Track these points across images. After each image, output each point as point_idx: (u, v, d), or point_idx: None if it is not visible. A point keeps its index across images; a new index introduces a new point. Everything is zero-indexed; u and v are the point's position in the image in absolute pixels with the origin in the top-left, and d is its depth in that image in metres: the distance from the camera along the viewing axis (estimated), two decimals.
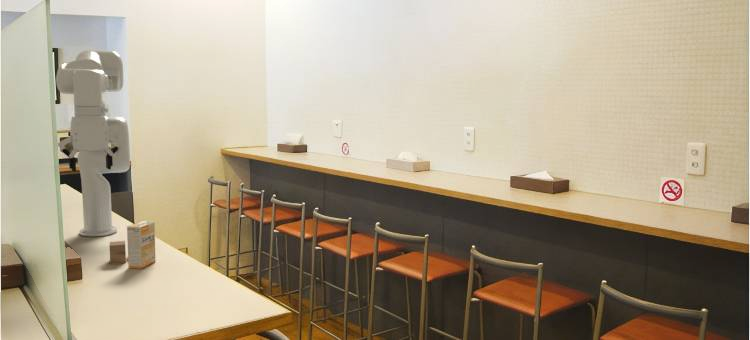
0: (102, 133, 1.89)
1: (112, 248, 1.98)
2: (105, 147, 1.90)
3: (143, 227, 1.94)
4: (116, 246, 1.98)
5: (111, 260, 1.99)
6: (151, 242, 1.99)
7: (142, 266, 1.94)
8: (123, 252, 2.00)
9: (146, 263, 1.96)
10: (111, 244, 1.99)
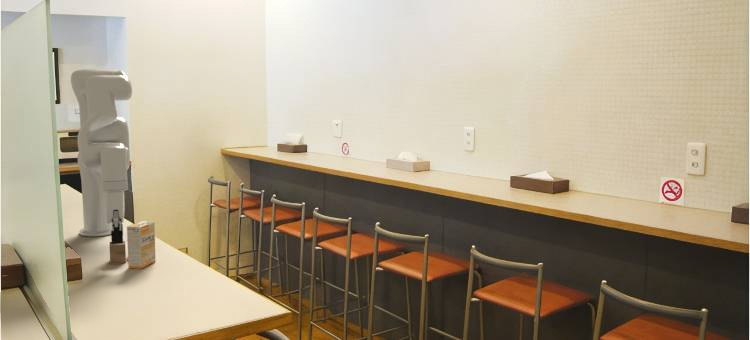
0: None
1: (112, 248, 1.98)
2: None
3: (143, 227, 1.94)
4: (116, 246, 1.98)
5: (111, 260, 1.99)
6: (151, 242, 1.99)
7: (142, 266, 1.94)
8: (123, 252, 2.00)
9: (146, 263, 1.96)
10: (111, 244, 1.99)
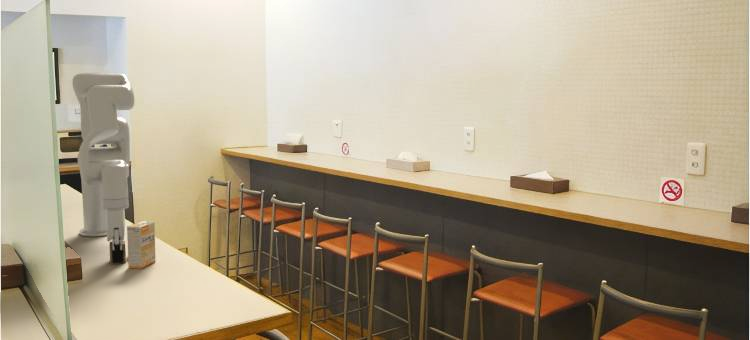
0: None
1: (112, 248, 1.98)
2: None
3: (143, 227, 1.94)
4: None
5: (111, 260, 1.99)
6: (151, 242, 1.99)
7: (142, 266, 1.94)
8: (123, 252, 2.00)
9: (146, 263, 1.96)
10: (111, 244, 1.99)
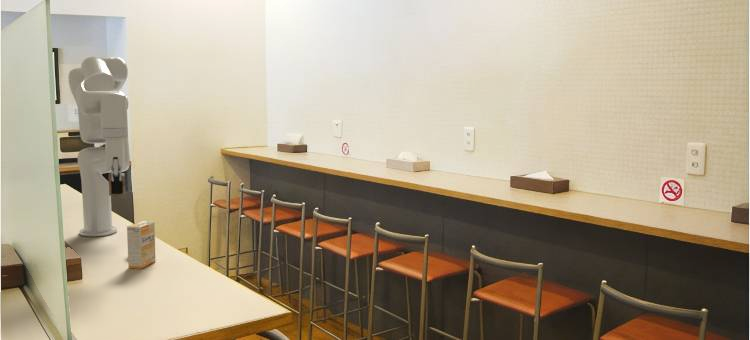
0: None
1: (111, 179, 1.95)
2: None
3: (143, 227, 1.94)
4: None
5: (110, 191, 1.95)
6: (151, 242, 1.99)
7: (142, 266, 1.94)
8: (122, 183, 1.96)
9: (146, 263, 1.96)
10: (110, 175, 1.95)
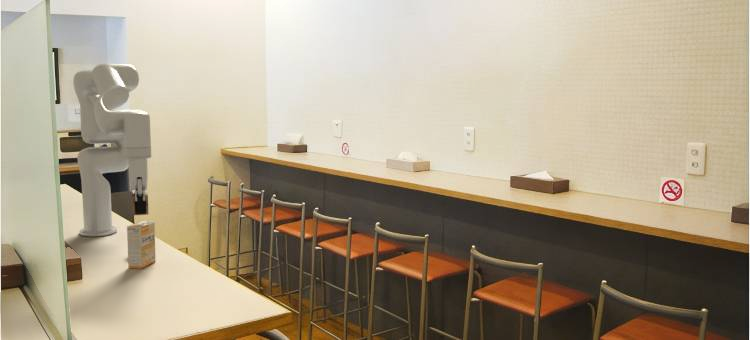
0: None
1: (134, 199, 1.93)
2: None
3: (143, 227, 1.94)
4: None
5: (133, 211, 1.93)
6: (151, 242, 1.99)
7: (142, 266, 1.94)
8: (146, 203, 1.94)
9: (146, 263, 1.96)
10: (133, 195, 1.93)
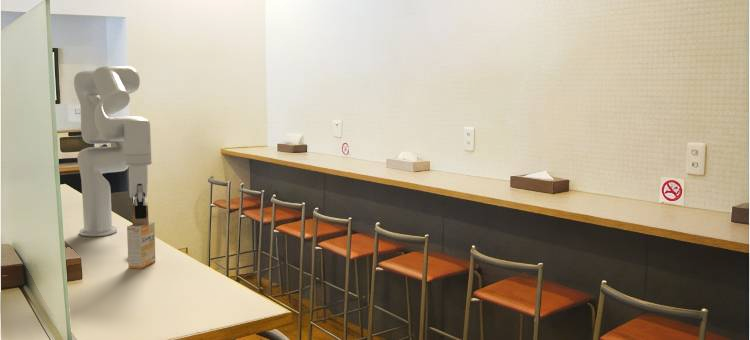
0: None
1: (134, 209, 1.93)
2: None
3: (143, 227, 1.94)
4: None
5: (134, 221, 1.94)
6: (151, 242, 1.99)
7: (142, 266, 1.94)
8: (146, 213, 1.95)
9: (146, 263, 1.96)
10: (133, 205, 1.94)
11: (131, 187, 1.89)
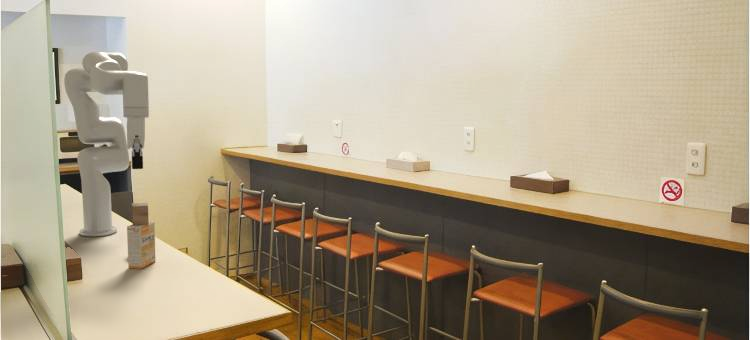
0: None
1: (134, 209, 1.93)
2: None
3: (143, 227, 1.94)
4: (139, 207, 1.94)
5: (134, 221, 1.94)
6: (151, 242, 1.99)
7: (142, 266, 1.94)
8: (146, 213, 1.95)
9: (146, 263, 1.96)
10: (134, 205, 1.94)
11: (129, 138, 1.97)
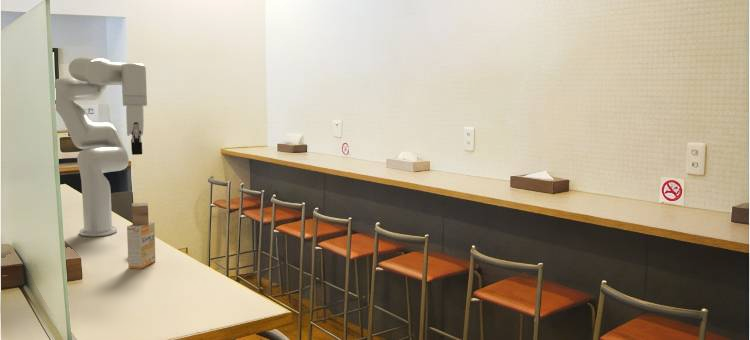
0: None
1: (134, 209, 1.93)
2: None
3: (143, 227, 1.94)
4: (139, 207, 1.94)
5: (134, 221, 1.94)
6: (151, 242, 1.99)
7: (142, 266, 1.94)
8: (146, 213, 1.95)
9: (146, 263, 1.96)
10: (134, 205, 1.94)
11: (128, 125, 2.07)
